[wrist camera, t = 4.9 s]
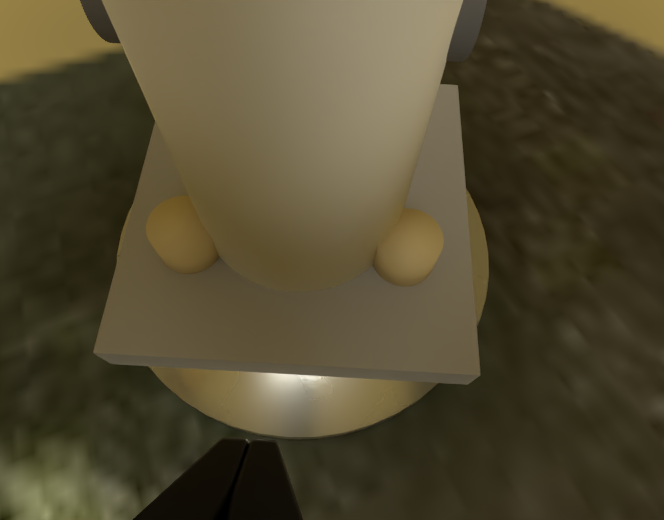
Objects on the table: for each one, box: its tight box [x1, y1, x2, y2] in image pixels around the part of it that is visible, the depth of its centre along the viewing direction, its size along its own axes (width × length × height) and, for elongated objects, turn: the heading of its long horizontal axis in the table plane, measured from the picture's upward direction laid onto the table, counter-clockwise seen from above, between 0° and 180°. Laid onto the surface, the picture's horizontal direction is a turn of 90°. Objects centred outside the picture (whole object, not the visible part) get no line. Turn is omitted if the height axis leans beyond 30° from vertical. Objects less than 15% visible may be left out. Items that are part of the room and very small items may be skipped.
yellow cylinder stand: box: [80, 0, 487, 385], centre depth 11 cm, size 10×10×11 cm
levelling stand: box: [117, 189, 489, 440], centre depth 17 cm, size 13×13×2 cm
